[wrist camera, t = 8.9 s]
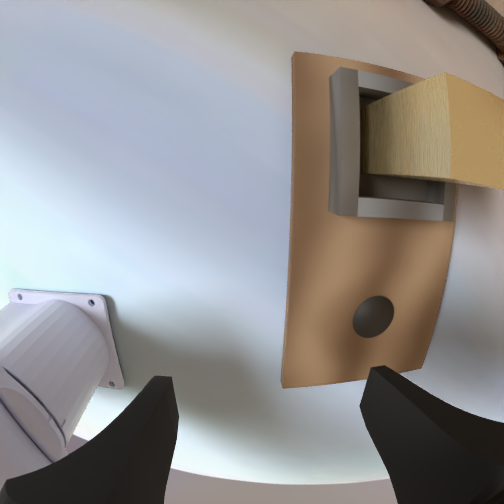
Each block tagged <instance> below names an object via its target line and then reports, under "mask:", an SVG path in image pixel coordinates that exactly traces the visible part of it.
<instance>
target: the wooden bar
mask: <svg viewBox="0 0 504 504" xmlns="http://www.w3.org/2000/svg"><path fill="white" fill-rule="evenodd" d="M361 110H362V173H365V174H376V175H385V176H394V177H403V178H410V179H419V180H430V181H440V182H449V183H458V184H466V185H473V186H481V187H488V188H494V189H500V190H504V100H503V99H501V98H499V97H498V96H496V95H494V94H492V93H490V92H488V91H486V90H484V89H482V88H480V87H478V86H476V85H474V84H471V83H469V82H467V81H465V80H462V79H460V78H458V77H455V76H453V75H451V74H448V73H446V72H444V73H442V74H439V75H436V76H434V77H431V78H429V79H426V80H424V81H421V82H419V83H416V84H414V85H411V86H409V87H407V88H404V89H402V90H400V91H397V92H395V93H393V94H390V95H388V96H386V97H384V98H381V99H379V100H377V101H375V102H372V103H370V104H368V105H366V106H364V107H362V108H361Z"/></svg>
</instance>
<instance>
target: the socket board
mask: <svg viewBox="0 0 504 504" xmlns="http://www.w3.org/2000/svg"><path fill="white" fill-rule="evenodd" d="M424 80H426V79H423V78H420V77H417V76H414V75H411V74H407V73H404V72H400V71H397V70H393V69H389V68H386V67H382V66H377V65H373V64H369V63H364V62H360V61H355V60H349V59H344V58H338V57H332V56H326V55H319V54H312V53H303V52H294V54H293V56H292V175H291V213H290V240H289V263H288V282H287V300H286V316H285V331H284V345H283V358H282V370H281V384H282V388H296V387H308V386H318V385H327V384H336V383H343V382H351V381H357V380H364V379H368V376H369V372H370V368H371V367H376V366H382V365H385V366H387V367H389V368H391V369H392V370H394V371H395V372H397V373H402V372H407V371H412V370H416V369H420V368H422V365H423V362H424V359H425V356H426V353H427V350H428V347H429V344H430V341H431V337H432V334H433V330H434V327H435V323H436V319H437V316H438V312H439V308H440V304H441V299H442V295H443V290H444V286H445V281H446V276H447V270H448V265H449V259H450V253H451V246H452V239H453V231H454V223H455V213H456V201H457V185H458V183H449V182H440V181H430V180H419V179H410V178H403V177H394V176H385V175H376V174H365V173H362V110H361V108H362V107H364V106H366V105H368V104H370V103H372V102H375V101H377V100H379V99H381V98H384V97H386V96H388V95H390V94H393V93H395V92H397V91H400V90H402V89H404V88H407V87H409V86H411V85H414V84H416V83H419V82H421V81H424Z"/></svg>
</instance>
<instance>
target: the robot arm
mask: <svg viewBox="0 0 504 504" xmlns="http://www.w3.org/2000/svg"><path fill="white" fill-rule="evenodd" d="M8 295H9V299H10V303H9V304H8V305H6V306H5V307H4V308H2V309H1V310H0V504H164V496H165V490H166V484H167V480H168V475H169V471H170V467H171V462H172V458H173V454H174V449H175V445H176V440H177V432H178V421H179V414H178V409H177V404H176V399H175V394H174V388H173V383H172V377H166V376H154V377H153V378H152V379H151V380H150V381H149V382H148V384H147V385H146V386H145V387H144V388H143V390H142V391H141V392H140V393H139V394H138V395H137V396H136V398H135V399H134V400H133V401H132V402H131V403H130V404H129V405H128V406H127V407H126V408H125V409H124V410H123V412H122V413H121V414H120V415H119V416H118V417H116V418H115V419H114V420H113V421H112V422H111V423H110V424H109V425H108V426H107V427H106V428H105V429H104V430H102V431H101V432H100V433H99V434H98V435H96V436H95V437H94V438H93V439H91V440H90V441H89V442H87V443H86V444H85V445H83V446H82V447H80V448H78V449H77V450H76V451H74V452H72V453H70V454H69V455H68V454H67V452H66V450H65V448H66V446H67V444H68V442H69V440H70V438H71V436H72V434H73V432H74V430H75V428H76V426H77V424H78V422H79V420H80V418H81V416H82V414H83V412H84V411H85V409H86V407H87V405H88V403H89V401H90V399H91V397H92V396H93V394H94V392H95V390H96V388H97V386H101V387H107V388H114V389H122V388H123V387H124V385H125V383H124V379H123V376H122V372H121V368H120V364H119V361H118V357H117V352H116V348H115V344H114V340H113V335H112V330H111V326H110V321H109V316H108V310H107V305H106V300H105V298H104V297H103V296H101V295H96V294H77V293H61V292H47V291H34V290H22V289H11V290H10V291H9V293H8ZM21 295H22V297H21ZM91 300H93V301H94V303H95V304H92V303H91ZM112 382H113V383H112ZM360 409H361V412H362V416H363V419H364V422H365V425H366V428H367V430H368V432H369V434H370V436H371V438H372V440H373V442H374V444H375V446H376V448H377V450H378V452H379V454H380V456H381V458H382V461H383V463H384V465H385V467H386V469H387V471H388V474H389V476H390V479H391V482H392V485H393V488H394V491H395V495H396V499H397V502H398V504H504V423H502V422H497V421H493V420H489V419H486V418H482V417H479V416H476V415H473V414H471V413H468V412H466V411H463V410H461V409H459V408H456V407H454V406H452V405H450V404H448V403H446V402H444V401H442V400H441V399H439V398H437V397H435V396H433V395H432V394H430V393H428V392H427V391H425V390H423V389H422V388H420V387H419V386H417V385H415V384H414V383H412V382H411V381H409V380H408V379H406V378H405V377H403V376H402V375H400V374H398V373H397V372H395V371H394V370H392V369H391V368H389V367H387V366H385V365H382V366H376V367H371V368H370V372H369V376H368V379H367V383H366V386H365V390H364V393H363V396H362V400H361V403H360Z"/></svg>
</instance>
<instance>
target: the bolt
mask: <svg viewBox="0 0 504 504" xmlns="http://www.w3.org/2000/svg"><path fill="white" fill-rule="evenodd" d="M425 1H426V2H428V3H430V4H431V5H434V6H443V5H445V6H447V7H448V8H450V9H451V10H453V11H454V12H456V13H457V14H459V15H460V16H462V17H463V18H464V19H465V20H467V21H468V22H469V23H471V24H472V25H473V26H474V27H476V28H477V29H478V30H479V31H480V32H482V33H483V34H484V35H486V36H487V37H488V38H489V39H490V40H491V41H492V43H494V44H495V45H496V46H497V58H498V59H499V60H500V61H501V62H502V63H503V64H504V17H503V16H502V15H500V14H499V13H498V12H497V11H496V10H495V9H494V8H493V7H492V6H491V5H489V4H488V3H487V2H486V1H484V0H425Z"/></svg>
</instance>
